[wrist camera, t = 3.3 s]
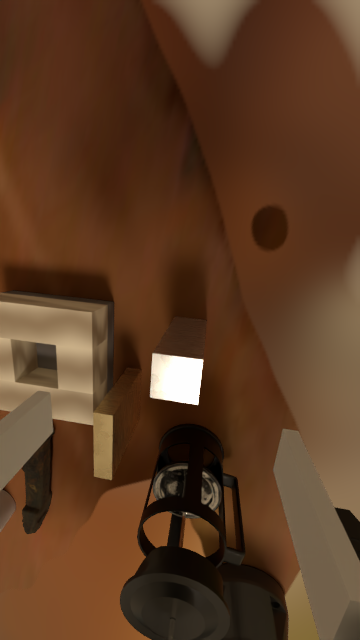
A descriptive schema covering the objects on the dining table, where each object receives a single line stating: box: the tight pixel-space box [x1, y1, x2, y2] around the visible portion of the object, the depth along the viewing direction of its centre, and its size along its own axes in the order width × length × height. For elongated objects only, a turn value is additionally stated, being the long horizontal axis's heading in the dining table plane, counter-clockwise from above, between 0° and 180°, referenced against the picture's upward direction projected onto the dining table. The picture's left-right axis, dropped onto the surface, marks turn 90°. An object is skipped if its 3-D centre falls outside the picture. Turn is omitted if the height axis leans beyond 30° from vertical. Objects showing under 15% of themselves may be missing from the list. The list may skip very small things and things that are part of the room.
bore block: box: [0, 290, 114, 425], centre depth 31 cm, size 14×14×6 cm
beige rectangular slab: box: [93, 367, 142, 480], centre depth 30 cm, size 8×2×10 cm, turn 175°
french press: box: [120, 424, 245, 640], centre depth 25 cm, size 12×9×23 cm
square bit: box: [150, 316, 207, 405], centre depth 25 cm, size 4×4×12 cm
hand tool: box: [22, 428, 55, 534], centre depth 39 cm, size 19×4×5 cm, turn 169°
